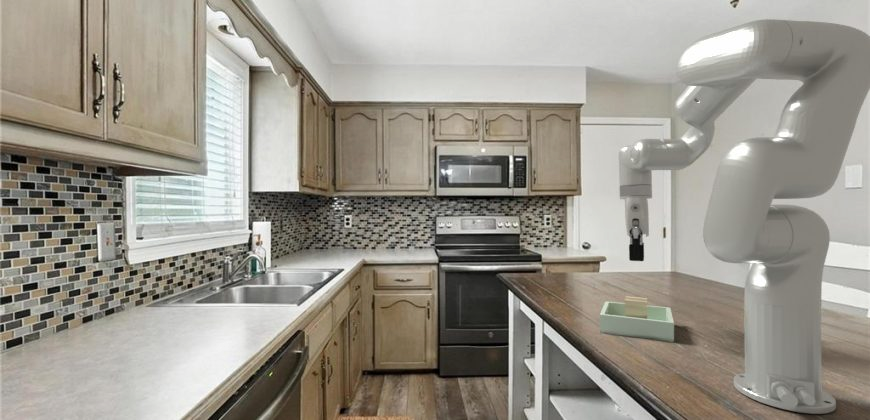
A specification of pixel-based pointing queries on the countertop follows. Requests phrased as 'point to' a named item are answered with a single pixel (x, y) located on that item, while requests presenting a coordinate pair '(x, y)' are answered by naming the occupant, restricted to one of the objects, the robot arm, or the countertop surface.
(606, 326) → the bin
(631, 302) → the beech block
